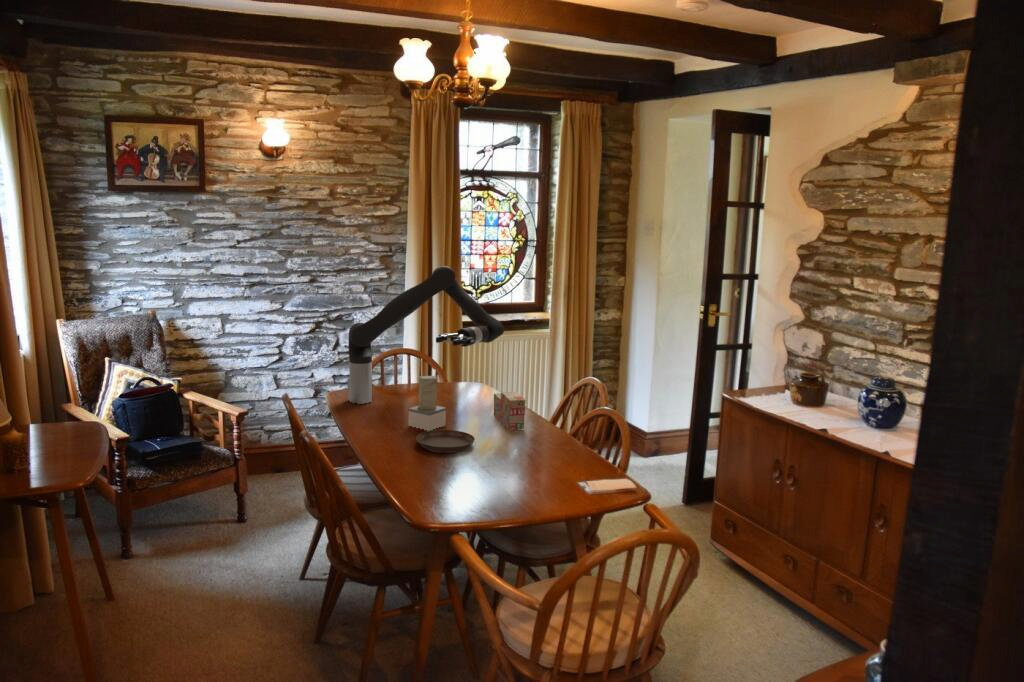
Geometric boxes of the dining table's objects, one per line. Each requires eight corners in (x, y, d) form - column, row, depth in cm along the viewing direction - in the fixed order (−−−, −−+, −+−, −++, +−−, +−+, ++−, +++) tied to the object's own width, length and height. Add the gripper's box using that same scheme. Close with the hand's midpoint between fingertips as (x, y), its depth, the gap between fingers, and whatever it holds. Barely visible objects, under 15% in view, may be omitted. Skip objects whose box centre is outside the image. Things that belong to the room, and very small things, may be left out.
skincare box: (421, 410, 293) (421, 378, 291) (417, 406, 297) (418, 376, 295) (437, 408, 295) (437, 377, 293) (433, 405, 299) (434, 375, 297)
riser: (408, 426, 296) (408, 408, 295) (425, 420, 304) (425, 403, 303) (428, 431, 291) (429, 413, 289) (445, 425, 299) (445, 407, 298)
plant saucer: (430, 434, 288) (430, 425, 287) (482, 441, 282) (482, 433, 281) (406, 451, 268) (406, 441, 268) (461, 459, 262) (462, 450, 262)
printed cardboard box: (493, 415, 315) (494, 386, 313) (507, 414, 317) (508, 385, 315) (508, 431, 295) (510, 399, 293) (524, 430, 297) (525, 399, 295)
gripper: (456, 325, 324) (431, 329, 311) (483, 329, 317) (459, 334, 303) (455, 342, 326) (430, 348, 312) (483, 347, 318) (458, 353, 305)
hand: (445, 341), depth 308 cm, fingers open, 8 cm apart
